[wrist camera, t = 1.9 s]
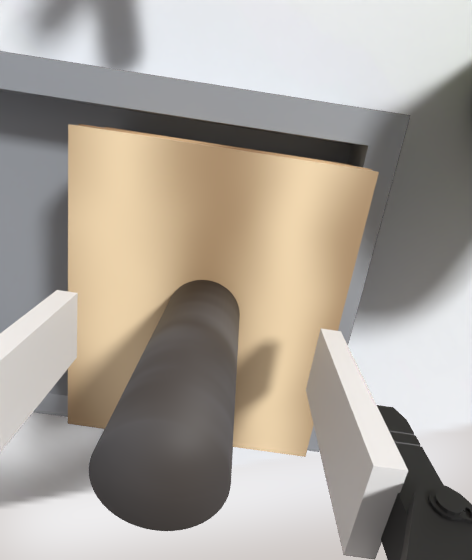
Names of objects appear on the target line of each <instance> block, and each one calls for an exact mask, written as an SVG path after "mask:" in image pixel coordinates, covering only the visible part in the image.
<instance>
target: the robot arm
mask: <svg viewBox="0 0 472 560" xmlns="http://www.w3.org/2000/svg"><path fill="white" fill-rule="evenodd" d="M77 299H78V293H74V292H68V291H61V290H56V291H55V292H54V293H52V294H51V295H50V296H48V297H47V298H46V299H45V300H43V301H42V302H41V303H39V304H38V305H37V306H35V307H34V308H33V309H32V310H30V311H29V312H28V313H26V314H25V315H24V316H22V317H21V318H20V319H19V320H17V321H16V322H15V323H13V324H12V325H11V326H9V327H8V328H7V329H6V330H4V331H3V332H2V333H0V453H1V451H2V450H3V449H4V448H5V446H6V445H7V444H8V443H9V441H10V440H11V439H12V438H13V436H14V435H15V434H16V433H17V431H18V430H19V429H20V428H21V426H22V425H23V424H24V423H25V421H26V420H27V419H28V418H29V416H30V415H31V414H32V413H33V411H34V410H35V409H36V408H37V406H38V405H39V404H40V403H41V402H42V400H43V399H44V398H45V397H46V395H47V394H48V393H49V392H50V390H51V389H52V388H53V387H54V385H55V384H56V383H57V382H58V380H59V379H60V378H61V377H62V375H63V374H64V373H65V372H66V370H67V369H68V368H69V367H70V365H71V364H72V363H73V362H74V360H75V359H76V358H77ZM306 393H307V398H308V402H309V406H310V411H311V415H312V420H313V424H314V428H315V433H316V437H317V441H318V446H319V450H320V454H321V459H322V463H323V467H324V472H325V476H326V481H327V485H328V489H329V493H330V498H331V502H332V506H333V511H334V515H335V520H336V524H337V528H338V533H339V537H340V542H341V546H342V550H343V555H346V556H354V557H361V558H369V559H375V558H376V555H377V552H378V550H379V547H380V545H381V542H382V544H383V547H384V550H385V553H386V556H387V559H388V560H472V505H471V503H469V501H467V500H466V499H465V498H464V497H463V496H462V495H461V494H459V493H458V492H456V491H454V490H452V489H451V488H449V487H447V486H444V485H443V483H442V482H441V480H440V478H439V476H438V475H437V473H436V471H435V469H434V468H433V466H432V464H431V462H430V461H429V459H428V457H427V455H426V454H425V452H424V450H423V448H422V447H420V443H419V441H418V439H417V438H416V436H414V432H413V431H412V429H411V427H410V425H409V424H408V422H407V420H406V419H405V418H404V417H403V416H402V415H401V414H400V413H399V412H398V411H396V410H395V409H394V408H393V407H386V406H379V405H376V403H375V401H374V399H373V397H372V395H371V393H370V391H369V389H368V387H367V385H366V382H365V380H364V378H363V376H362V374H361V372H360V370H359V368H358V366H357V364H356V362H355V360H354V358H353V356H352V354H351V352H350V349H349V347H348V345H347V343H346V341H345V339H344V337H343V335H342V333H341V331H335V330H328V329H320V333H319V337H318V341H317V345H316V350H315V354H314V358H313V362H312V366H311V370H310V374H309V379H308V383H307V387H306Z"/></svg>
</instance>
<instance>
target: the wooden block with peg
mask: <svg viewBox="0 0 472 560" xmlns="http://www.w3.org/2000/svg"><path fill="white" fill-rule="evenodd" d="M378 174H379V172H376V171H372V169H369V168H363V167H357V166H354V165H350V164H344V163H338V162H331V161H325V160H318V159H312V158H305V157H299V156H292V155H286V154H279V153H273V152H266V151H260V150H253V149H247V148H240V147H234V146H227V145H221V144H214V143H208V142H201V141H195V140H188V139H182V138H175V137H169V136H162V135H156V134H149V133H143V132H136V131H130V130H123V129H117V128H110V127H105V128H103V127H97V126H90V125H83V124H79V125H69V124H68V292H74V293H78V299H77V358H76V359H75V360H74V362H73V363H72V364H71V365H70V367H69V368H68V424H74V425H81V426H89V427H96V428H103V429H105V430H104V432H103V434H102V436H101V438H100V440H99V442H98V444H97V446H96V448H95V450H94V452H93V454H92V456H91V460H90V465H89V477H90V481H91V485H92V487H93V490H94V492H95V494H96V495H97V497H98V498H99V499H100V501H101V502H102V504H103V505H104V506H105V507H106V508H107V509H108V510H110V511H111V512H112V513H113V514H114V515H116V516H118V517H119V518H121V519H122V520H124V521H126V522H128V523H131V524H133V525H136V526H139V527H142V528H146V529H151V530H159V531H175V530H182V529H187V528H191V527H193V526H197V525H199V524H201V523H203V522H205V521H207V520H208V519H210V518H211V517H212V516H214V515H215V514H216V513H217V512H218V511H219V510H220V509H221V508H222V506H223V504H224V503H225V501H226V499H227V497H228V494H229V491H230V484H231V469H232V450H233V447H239V448H246V449H254V450H261V451H268V452H275V453H282V454H289V455H297V456H304V457H305V456H306V452H307V448H308V445H309V441H310V437H311V433H312V429H313V425H314V424H313V420H312V415H311V411H310V406H309V402H308V398H307V393H306V387H307V383H308V379H309V374H310V370H311V366H312V362H313V358H314V354H315V350H316V345H317V341H318V337H319V333H320V329H328V330H335V331H338V329H339V325H340V321H341V317H342V313H343V309H344V305H345V301H346V298H347V294H348V290H349V286H350V282H351V278H352V274H353V271H354V267H355V263H356V259H357V255H358V251H359V247H360V244H361V240H362V236H363V232H364V228H365V224H366V220H367V216H368V213H369V209H370V205H371V201H372V197H373V193H374V189H375V186H376V182H377V178H378Z"/></svg>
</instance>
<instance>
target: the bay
mask: <svg viewBox="0 0 472 560" xmlns="http://www.w3.org/2000/svg"><path fill="white" fill-rule="evenodd" d="M409 119H410V115H405V114H398V113H392V112H386V111H379V110H373V109H366V108H360V107H354V106H347V105H341V104H335V103H328V102H322V101H315V100H309V99H303V98H296V97H290V96H284V95H277V94H271V93H264V92H258V91H252V90H245V89H239V88H233V87H226V86H220V85H213V84H207V83H201V82H194V81H188V80H181V79H175V78H169V77H162V76H156V75H150V74H143V73H137V72H130V71H124V70H118V69H111V68H105V67H99V66H92V65H86V64H79V63H73V62H67V61H60V60H54V59H48V58H41V57H35V56H28V55H22V54H16V53H9V52H3V51H0V333H2V332H3V331H4V330H6V329H7V328H8V327H9V326H11V325H12V324H13V323H15V322H16V321H17V320H19V319H20V318H21V317H22V316H24V315H25V314H26V313H28V312H29V311H30V310H32V309H33V308H34V307H35V306H37V305H38V304H39V303H41V302H42V301H43V300H45V299H46V298H47V297H48V296H50V295H51V294H52V293H54V292H55V291H56V290H61V291H68V124H69V125H79V124H83V125H90V126H97V127H103V128H105V127H110V128H117V129H123V130H130V131H136V132H143V133H149V134H156V135H162V136H169V137H175V138H182V139H188V140H195V141H201V142H208V143H214V144H221V145H227V146H234V147H240V148H247V149H253V150H260V151H266V152H273V153H279V154H286V155H292V156H299V157H305V158H312V159H318V160H325V161H331V162H338V163H344V164H350V165H354V166H357V167H363V168H369V169H372V171H376V172H379V174H378V178H377V182H376V186H375V189H374V193H373V197H372V201H371V205H370V209H369V213H368V216H367V220H366V224H365V228H364V232H363V236H362V240H361V244H360V247H359V251H358V255H357V259H356V263H355V267H354V271H353V274H352V278H351V282H350V286H349V290H348V294H347V298H346V301H345V305H344V309H343V313H342V317H341V321H340V325H339V329H338V331H341V333H342V335H343V337H344V339H345V341H346V343H347V345H348V343H349V339H350V336H351V332H352V328H353V325H354V321H355V317H356V314H357V310H358V306H359V303H360V299H361V295H362V292H363V288H364V284H365V281H366V277H367V273H368V270H369V266H370V262H371V259H372V255H373V251H374V247H375V244H376V240H377V236H378V233H379V229H380V225H381V222H382V218H383V214H384V211H385V207H386V203H387V200H388V196H389V192H390V189H391V185H392V181H393V178H394V174H395V170H396V167H397V163H398V159H399V156H400V152H401V148H402V145H403V141H404V137H405V133H406V130H407V126H408V122H409ZM33 412H37V413H44V414H51V415H58V416H66V417H68V369H67V370H66V372H65V373H64V374H63V375H62V377H61V378H60V379H59V380H58V382H57V383H56V384H55V385H54V387H53V388H52V389H51V390H50V392H49V393H48V394H47V395H46V397H45V398H44V399H43V400H42V402H41V403H40V404H39V405H38V406H37V408H36V409H35V410H34V411H33ZM307 450H309V451H316V452H319V446H318V441H317V437H316V433H315V428H314V425H313V429H312V433H311V437H310V441H309V445H308V448H307Z"/></svg>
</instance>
